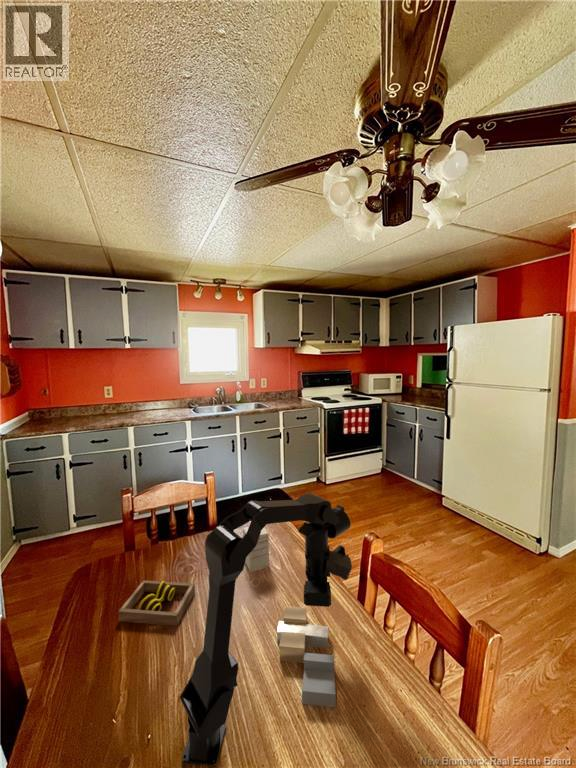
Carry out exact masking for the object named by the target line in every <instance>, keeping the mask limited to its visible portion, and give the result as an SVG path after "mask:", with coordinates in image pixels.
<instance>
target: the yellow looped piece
mask: <svg viewBox="0 0 576 768" xmlns="http://www.w3.org/2000/svg"><path fill="white" fill-rule="evenodd" d="M161 581H162V582H161V584H160V585H159V588H158V590H157V593H156V594H154V593H150V594H147V595H146V596H145V597H144V598H143V599H142V600H141V602H140V603H139V606H138V610H149V611H161V610H162V602H163V601H168V602H171V601H172V599H174V596H175V594H174V593H175V588H172V587H171V586H170V585H167V584H165V582H166V581H165V580H161Z"/></svg>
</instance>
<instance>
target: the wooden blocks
mask: <svg viewBox="0 0 576 768" xmlns="http://www.w3.org/2000/svg"><path fill="white" fill-rule="evenodd" d="M283 611H284V612H283V617H282V619H283V620H282V621H284V622H293V623H301V624H308V623H307V622H308V621H307V620H308V618H307V617H308V616H307V615H308V614H307V613H308V609H307V607H306V606H305V607H302V606H290V605H285V606H284V610H283ZM278 650H279V654H278V656H279V661H280V662H287V663H288V662H290V663H301V664H304V653H306V646H305V633H295V632H283V631H281V638H280V642H279V646H278Z"/></svg>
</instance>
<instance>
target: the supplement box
mask: <svg viewBox="0 0 576 768" xmlns="http://www.w3.org/2000/svg"><path fill="white" fill-rule="evenodd" d="M248 528H249V526H246V527H242V532H243V533H242V538H243V537H244V536H245V534H246V533H247V531H248ZM269 535H270V534H269V532H268V530H267V529H266V527H264V528H263V529H262V530H261V533H260V536H259V539H258V542H257V545H256V547H255V548H254V549H253V550H252V551H251V552H250V554H249V555H248V556H247V557H246V561H245V565H246V567H247V568H248V570H249V573H253V572H256V571H259V570H260V571H261V570H263V569H266V568H269V567H270V540H269V539H270V536H269Z"/></svg>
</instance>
